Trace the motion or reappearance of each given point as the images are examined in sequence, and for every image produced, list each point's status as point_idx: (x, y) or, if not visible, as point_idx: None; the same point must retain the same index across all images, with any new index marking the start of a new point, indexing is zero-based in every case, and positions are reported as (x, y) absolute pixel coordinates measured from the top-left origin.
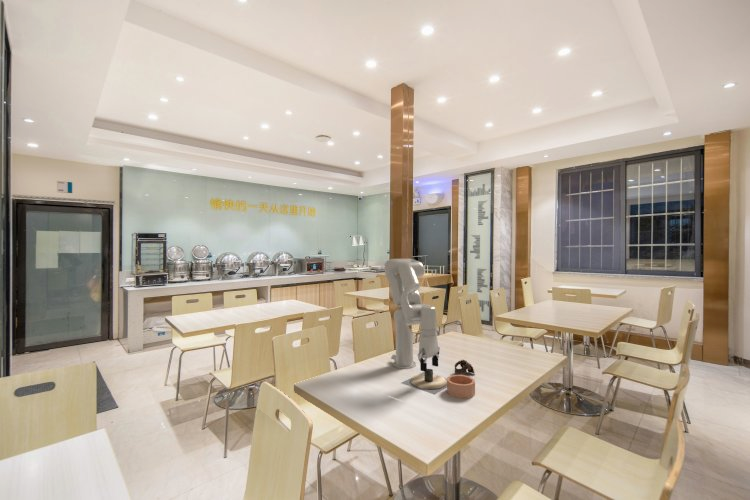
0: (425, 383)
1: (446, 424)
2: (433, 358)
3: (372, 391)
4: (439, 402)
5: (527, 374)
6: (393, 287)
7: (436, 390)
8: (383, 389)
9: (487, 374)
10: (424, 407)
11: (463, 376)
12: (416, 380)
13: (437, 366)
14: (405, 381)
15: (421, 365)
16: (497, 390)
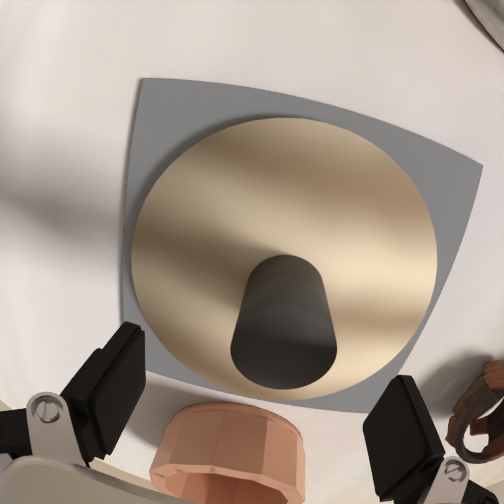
0: (207, 288)
1: (24, 397)
2: (408, 464)
3: (5, 43)
4: None
5: None
6: None
7: (175, 364)
8: (34, 59)
9: (481, 439)
10: (25, 336)
11: (289, 499)
12: (227, 190)
13: (365, 424)
14: (190, 92)
15: (75, 382)
16: (332, 494)
